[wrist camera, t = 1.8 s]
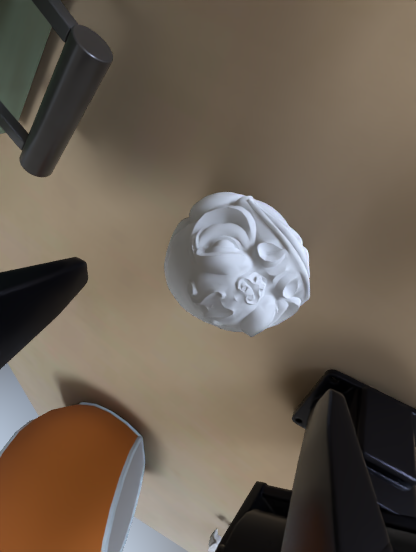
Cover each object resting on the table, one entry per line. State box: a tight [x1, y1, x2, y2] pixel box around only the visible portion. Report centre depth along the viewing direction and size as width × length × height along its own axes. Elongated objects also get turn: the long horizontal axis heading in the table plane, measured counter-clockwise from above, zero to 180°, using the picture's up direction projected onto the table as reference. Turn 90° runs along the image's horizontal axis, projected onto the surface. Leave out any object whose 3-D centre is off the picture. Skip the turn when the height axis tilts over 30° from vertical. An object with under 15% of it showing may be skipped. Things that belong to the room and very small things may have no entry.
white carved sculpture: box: [164, 192, 310, 337], centre depth 13 cm, size 6×7×7 cm
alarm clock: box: [0, 402, 145, 552], centre depth 36 cm, size 19×18×17 cm
